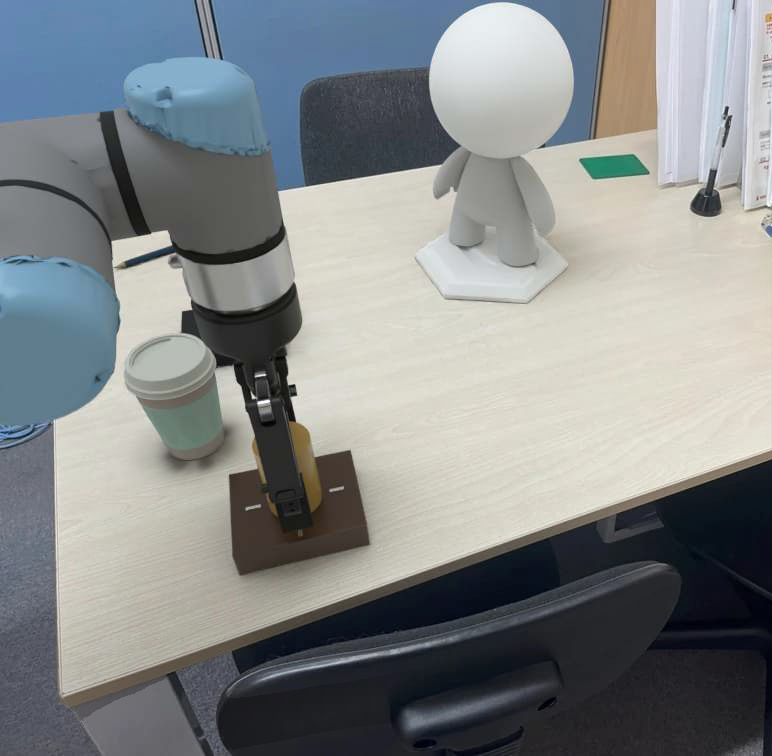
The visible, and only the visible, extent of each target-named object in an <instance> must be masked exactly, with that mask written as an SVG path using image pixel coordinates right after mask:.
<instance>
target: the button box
mask: <svg viewBox="0 0 772 756" xmlns="http://www.w3.org/2000/svg"><path fill="white" fill-rule="evenodd" d="M180 325H181V326H180V327H181V328H180V333H185V334H190V335H193V336H195V337H197V338H199V339H200V340H202V338H201V336H200V333H199V329H198V326H197V323H196V320H195V317H194V313H193V310H192V309H188V310H182V311H181V322H180ZM202 341H203V340H202ZM203 343H204V342H203ZM210 350H211V349H210ZM285 350H286V353H285V355H286V357H287V356H288V352H287V351H288V350H287V345H286V346H285ZM211 352H212V353H213V355H214V357H215V359H216V368H220V367H221V368H222V367H227V366H233V362H237V361H236V359H235V358H232V357H228V356H224V355H221V354H218V353H216V352H214V351H212V350H211Z"/></svg>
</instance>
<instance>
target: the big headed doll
mask: <svg viewBox="0 0 772 756" xmlns="http://www.w3.org/2000/svg"><path fill="white" fill-rule="evenodd" d="M574 83H575V77H574V68H573V62H572V58H571V55H570V52H569V50H568V47H567V45H566V42H565V41H564V39H563V37H562V36H561V34H560V32H559V31H558V30H557V29H556V27H555V26H554V25H553V24H552V23H551V22H550V21H549V20H548V19H547V18H546V17H545V16H543V15H542V14H541V13H539V12H537V11H536V10H534V9H532V8H530V7H527V6H525V5H522V4H518V3H514V2H505V1H503V2H501V1H500V2H490V3H486V4H482V5H479V6H476V7H474V8H472V9H469V10H468V11H466V12H464V13H463V14H462V15H460V16H459V17H458V18H456V20H454V21H453V22H452V23H451V24H450V25H449V26H448V27H447V29H446V30H445V31H444V32H443V34H442V35H441V37H440V39H439V41H437V45H436V47H435V49H434V52H433V55H432V57H431V62H430V67H429V74H428V87H429V97H430V100H431V105H432V107H433V110H434V113H435V116H436V117H437V119H438V121H439V123H440V124H441V126H442V127H443V129H444V131H445V132H446V133H447V134H448V135H449V136H450V137H451V139H453V141H455V142H456V143H457V144H459V145H460V146H459V147H458V148H457V149H455V150H454V151H453V152H452V153H451V154H450V155H449V156H447V158H446V159H445V160H444V161H443V163H442V164H441V165H440V167H439V168H438V170H437V172H436V174H435V176H434V179H433V185H432V194H433V197H434V199H436V200H439V199H441V198H443V197H444V196H446V195H447V194H449V193H450V192H451V188H452V191H453V192H454V193H456V195H455V199H454V204H453V209H452V213H451V219H450V224H449V225H450V226H449V229H447V230H446V231H444V232H443V233H441V234H440V235H438V236H436V238H434V239H433V240H431V241H429V242H428V243H426V244H425V245H424V246H422V247H421V248H420V249H419V250H418V251H416V253H414V259H415V261H416V262H417V263H418V265H419V266H420V267H421V268H422V270H423V271H424V273H425V274H426V275H427V277H428V278H429V279H430V281H431V282H432V284H434V286H435V287H436V289H437V290H438V292H439V293H440V294H441V296H442V297H443V298H444V299H449V300H450V299H451V300H466V301H481V302H483V301H484V302H500V303H514V304H528V303H529V302H530V301H531V300H532V299H533V298H535V297H536V296H537V295H538V294H539V293H540V292H542V291H543V290H544V289H545V288H547V286H548V285H549V284H550V283H552V282H553V281H554V280H555V279H556V278H558V277H559V276H560V275H562V273H563V272H564V271H565V270H566V269H567V268H568V267H569V263H568V262H567V260H566V259H565V258H564V257H563V256H562V255H561V254H560V253H559V252H558V251H557V250H556V249H555V248H554V247H553V246H552V245H551V244H550V243H549V242H548V241H547V240H546V239H545V238H544V236H546V235H548V234H550V233H551V232H552V231H553V230H554V227H555V225H556V211H555V210H556V209H555V207H554V202H553V199H552V198H551V195H550V194H549V191H548V190H547V188H546V186H545V185H544V182H543V181H542V179H541V177H540V176H539V174H538V172H537V171H536V170H535V168H533V166H532V164H530V162H529V161H528V160H526V159H525V157H523V156H524V155H526V154H529V153H531V152H533V151H535V150H537V149H539V148H540V147H541V146H543V145H545V144H546V143H547V142H548V141H549V140H550V139H551V138H553V136H554V135H555V134H556V133H557V131H558V130H559V129H560V127H561V126H562V125H563V123H564V121H565V119H566V117H567V115H568V114H569V110H570V107H571V104H572V102H573V101H572V100H573V96H574V90H575V89H574V87H575V84H574ZM533 226H534V227H535V228H536V230H537V231H536V230H535V229H534V227H533Z"/></svg>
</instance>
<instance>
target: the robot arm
mask: <svg viewBox="0 0 772 756" xmlns="http://www.w3.org/2000/svg"><path fill="white" fill-rule="evenodd" d="M123 81H124V82H123V92H124V98H125V99H124V101H123V104H124V107H117V108H113V110H106V111H98V112H89V113H79V114H78V113H77V114H70V115H61V116H60V115H59V116H51V117H40V118H32V119H21V120H13V121H11V120H10V121H3V122H0V426H8V427H10V426H11V427H12V426H14V427H16V426H17V427H18V426H29V425H37V424H42V423H43V424H44V423H49V422H52V421H55V420H59V419H61V418H64V417H68V416H70V415H71V414H73V413H75V412H77V411H79V410H81V409H82V408H84V407H85V406H86V405H89V403H91V402H92V401H93V400H94V399H95V398H97V397H98V395H99V394H100V393H101V392H102V391H103V390H104V388H105V387H106V385H107V384H108V382H109V381H110V379H111V377H112V376H113V375H114V373H115V370H116V363H117V362H116V361H117V340H118V339H117V337H118V333H119V330H120V327H121V321H122V320H121V316H120V311H121V301H120V300H119V297H118V295H117V291H116V281H115V273H114V266H113V242H114V241H120V240H127V239H131V238H132V239H133V238H137V237H143V236H148V235H152V234H153V233H159V232H165V231H167V234H168V235H169V240H170V243H171V245H172V246H173V249H174V250H175V252H174V253H175V254H171V255H169V256H168V259H167V262H168V266H169V267H170V268H171V269H173V270H177V269H182V278H183V281H184V285H185V289H186V292H187V294H188V296H189V298H190V307H191V310H193V313H194V317H195V320H196V323H197V326H198V329H199V333H200V336H201V338H202V340H203V342H204V344H205V345H206V346H207V347H208V348H209V349H211V350H212V351H214V352H216V353H218V354H221V355H224V356H228V357H232V358H235V359H236V361H237V362H233V365H232V366H233V371H234V376H235V381H236V383H237V384H238V385H239V387H240V388H241V392H242V396H243V402H244V409H245V413H247V415H248V418H249V421H250V424H251V425H250V426H251V427H252V431H253V435H254V437H255V439H256V443H257V447H258V451H259V455H260V459H261V463H262V467H263V471H264V475H265V479H266V483H265V484H261V493H262V494H267V493H269V494H268V497H269V500H270V502H271V503H272V504H275V507H276V511H277V514H278V518H279V521H280V525H281V528H282V532H283V533H288V532H292V531H296V530H301V529H305V528H310V527H314V524H313V518H312V514H311V510H310V505H309V501H308V497H307V493H306V488H305V484H304V480H303V475H302V472H301V473H299V468H298V463H297V458H296V453H295V448H294V443H293V438H292V433H291V428H290V424H289V421H291V422H296V423H298V422H297V419H296V414H295V410H294V409H295V408H294V404H293V400H292V398H293V397H298V390H297V385H296V383H291V384H289V381H288V376H289V365H288V359H287V356H286V355H285V353H286V351H287V349H286V350H285V346H286V347H287V346H288V345H289V344H290V343H291V342H292V341H293V340H294V339H295V338H296V337H297V336H298V334H299V332H300V331H301V328H302V325H303V313H302V310H301V303H300V299H299V293H298V287H297V285H296V284H297V283H296V282H295V278H296V274H295V268H294V263H293V259H292V251H291V247H290V243H289V238H288V237H289V236H288V233H287V227H286V225H285V223H284V216H283V212H282V206H281V200H280V195H279V189H278V184H277V179H276V178H277V177H276V172H275V167H274V161H273V156H272V145H271V141H270V139H269V135H268V133H267V129H266V125H265V120H264V116H263V112H262V108H261V104H260V100H259V96H258V91H257V87H256V84H255V83H254V80H253V79H252V77H250V75H249V74H248V73H246V72H245V70H243V69H242V68H241V67H239V66H238V65H236V64H235V63H232V62H229V61H226V60H223V59H218V58H212V57H204V56H187V57H186V56H185V57H174V58H167V59H164V61H161V62H154V63H153V62H152V63H147V64H143V65H141V66H139V67H137V68H135V69H134V70H132V71H131V72H130V73H128V75H127V76H126V77H125V80H123ZM252 395H253V396H252ZM253 397H255V398H253Z"/></svg>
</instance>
